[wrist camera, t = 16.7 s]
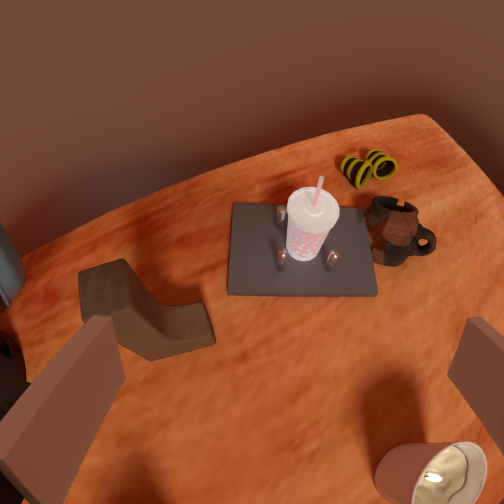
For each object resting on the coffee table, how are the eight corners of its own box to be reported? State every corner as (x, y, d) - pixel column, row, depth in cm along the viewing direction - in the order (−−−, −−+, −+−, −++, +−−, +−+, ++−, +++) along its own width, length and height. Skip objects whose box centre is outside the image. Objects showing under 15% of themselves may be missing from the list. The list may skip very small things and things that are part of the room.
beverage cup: (316, 273, 40) (343, 210, 28) (273, 256, 42) (282, 188, 29) (329, 237, 43) (356, 169, 31) (289, 221, 44) (302, 150, 32)
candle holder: (444, 462, 28) (499, 467, 17) (396, 515, 25) (442, 540, 14) (405, 423, 31) (458, 422, 21) (352, 479, 28) (392, 502, 18)
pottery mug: (349, 258, 44) (360, 205, 39) (365, 234, 51) (373, 188, 46) (426, 283, 38) (443, 230, 34) (429, 254, 45) (443, 209, 41)
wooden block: (207, 311, 39) (178, 239, 23) (217, 344, 37) (191, 291, 21) (142, 329, 38) (75, 270, 22) (149, 362, 36) (80, 322, 20)
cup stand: (228, 295, 40) (225, 279, 36) (233, 208, 47) (232, 185, 42) (374, 296, 40) (389, 281, 36) (361, 213, 47) (370, 192, 42)
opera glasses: (376, 164, 54) (380, 142, 50) (394, 179, 51) (400, 157, 47) (336, 176, 52) (339, 153, 48) (355, 194, 49) (359, 170, 45)
